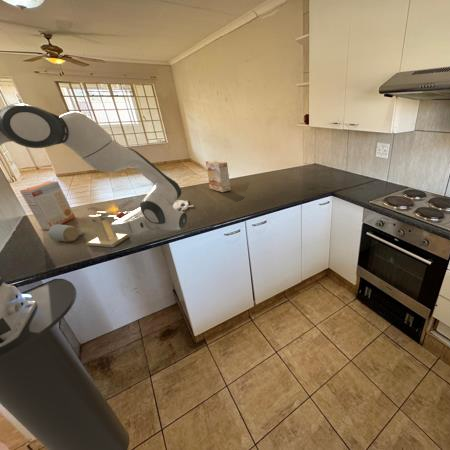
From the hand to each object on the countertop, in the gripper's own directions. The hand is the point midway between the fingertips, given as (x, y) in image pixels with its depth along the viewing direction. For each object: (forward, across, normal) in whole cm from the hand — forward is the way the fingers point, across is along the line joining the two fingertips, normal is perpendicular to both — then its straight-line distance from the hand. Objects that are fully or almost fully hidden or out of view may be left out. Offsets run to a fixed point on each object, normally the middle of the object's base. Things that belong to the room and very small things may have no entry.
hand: (119, 216), depth 106 cm
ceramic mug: (+30, 0, +13) cm, 33 cm away
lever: (+4, 0, +2) cm, 5 cm away
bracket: (+10, 0, +13) cm, 16 cm away
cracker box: (+50, -13, +14) cm, 54 cm away
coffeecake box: (-12, -73, +13) cm, 75 cm away
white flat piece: (+6, -38, +13) cm, 40 cm away
